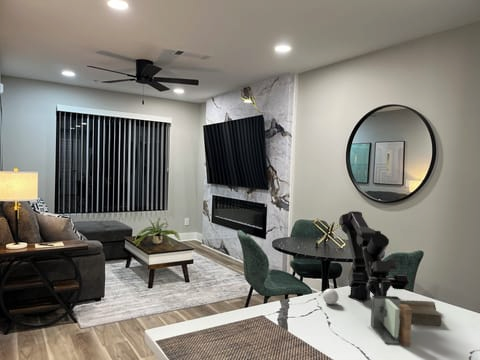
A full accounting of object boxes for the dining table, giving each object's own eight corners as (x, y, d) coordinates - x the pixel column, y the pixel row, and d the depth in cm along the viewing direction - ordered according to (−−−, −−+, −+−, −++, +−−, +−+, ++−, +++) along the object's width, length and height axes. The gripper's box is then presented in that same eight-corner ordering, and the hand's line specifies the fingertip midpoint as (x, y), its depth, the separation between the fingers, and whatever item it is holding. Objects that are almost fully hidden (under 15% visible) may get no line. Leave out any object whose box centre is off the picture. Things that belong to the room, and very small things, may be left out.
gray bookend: (370, 325, 116) (372, 295, 115) (395, 326, 116) (397, 296, 115) (384, 343, 104) (386, 310, 104) (411, 344, 104) (413, 311, 104)
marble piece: (434, 311, 131) (435, 299, 131) (452, 329, 116) (453, 316, 116) (387, 307, 133) (387, 296, 133) (399, 324, 119) (400, 312, 118)
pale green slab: (381, 324, 113) (382, 298, 113) (387, 325, 113) (388, 299, 113) (391, 336, 105) (392, 309, 105) (398, 337, 105) (399, 309, 105)
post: (397, 339, 107) (399, 304, 107) (404, 339, 107) (406, 304, 107) (403, 346, 103) (405, 309, 103) (410, 346, 103) (412, 310, 103)
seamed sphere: (319, 302, 135) (319, 287, 134) (330, 300, 137) (331, 285, 137) (333, 309, 128) (333, 294, 128) (345, 307, 130) (345, 292, 130)
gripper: (352, 249, 121) (361, 293, 110) (408, 251, 120) (422, 295, 110) (345, 265, 129) (352, 308, 118) (397, 267, 128) (409, 310, 118)
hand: (383, 305), depth 116 cm, fingers closed, pressing on gray bookend
